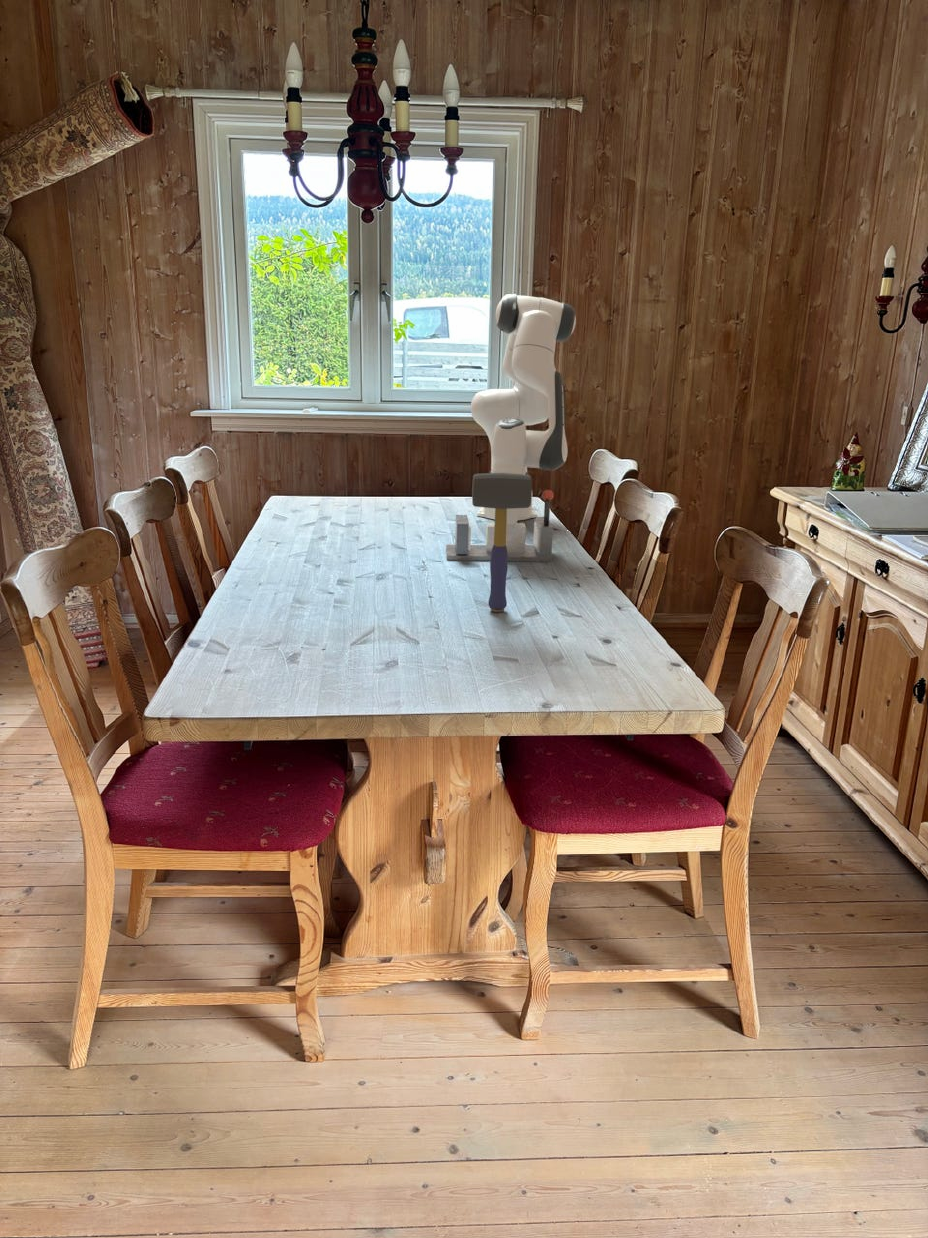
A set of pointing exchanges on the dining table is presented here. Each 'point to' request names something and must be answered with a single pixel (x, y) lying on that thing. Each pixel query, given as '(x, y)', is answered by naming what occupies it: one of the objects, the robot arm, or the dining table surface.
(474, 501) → the rubber mallet
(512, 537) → the block
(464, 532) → the block
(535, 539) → the vise
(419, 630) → the dining table surface
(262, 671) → the dining table surface
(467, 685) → the dining table surface
